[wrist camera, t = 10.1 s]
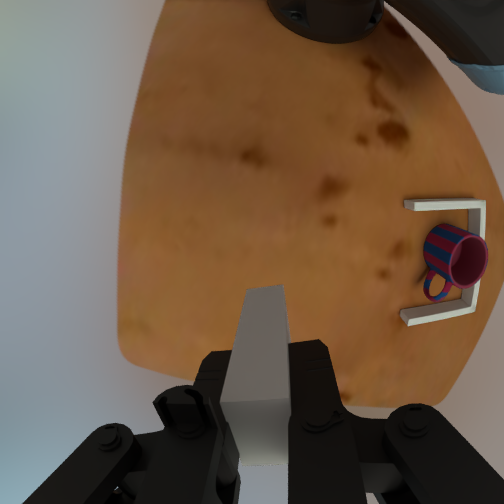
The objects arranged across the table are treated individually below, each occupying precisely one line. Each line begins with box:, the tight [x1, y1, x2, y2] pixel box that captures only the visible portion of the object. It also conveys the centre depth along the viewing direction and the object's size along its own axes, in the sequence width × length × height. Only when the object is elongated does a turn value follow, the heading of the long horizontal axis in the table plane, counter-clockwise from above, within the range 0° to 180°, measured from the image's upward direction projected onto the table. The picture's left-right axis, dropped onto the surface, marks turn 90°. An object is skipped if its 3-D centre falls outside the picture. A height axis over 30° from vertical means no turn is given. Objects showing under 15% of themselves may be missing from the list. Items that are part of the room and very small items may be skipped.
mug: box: [423, 224, 488, 302], centre depth 31 cm, size 7×10×7 cm
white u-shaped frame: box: [400, 198, 486, 326], centre depth 33 cm, size 16×12×3 cm
